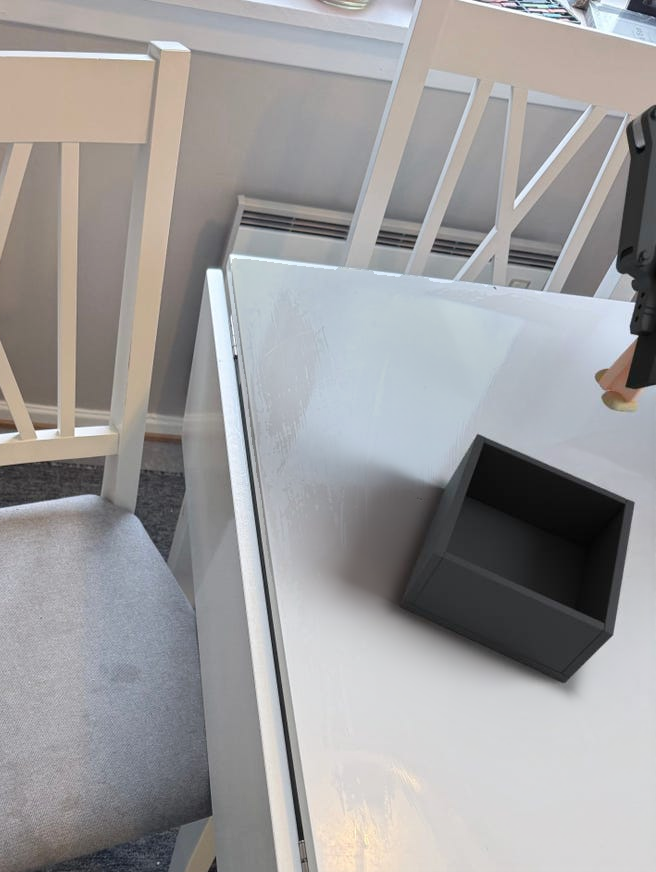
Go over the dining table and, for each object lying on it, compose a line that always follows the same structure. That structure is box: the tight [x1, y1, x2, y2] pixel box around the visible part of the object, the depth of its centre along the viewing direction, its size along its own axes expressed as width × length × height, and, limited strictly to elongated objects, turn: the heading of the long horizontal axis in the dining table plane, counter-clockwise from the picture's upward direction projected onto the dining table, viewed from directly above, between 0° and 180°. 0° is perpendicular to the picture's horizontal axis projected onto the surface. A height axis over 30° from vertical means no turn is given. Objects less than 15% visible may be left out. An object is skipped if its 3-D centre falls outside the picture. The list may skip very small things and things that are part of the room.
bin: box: [399, 433, 636, 683], centre depth 73 cm, size 15×17×7 cm
